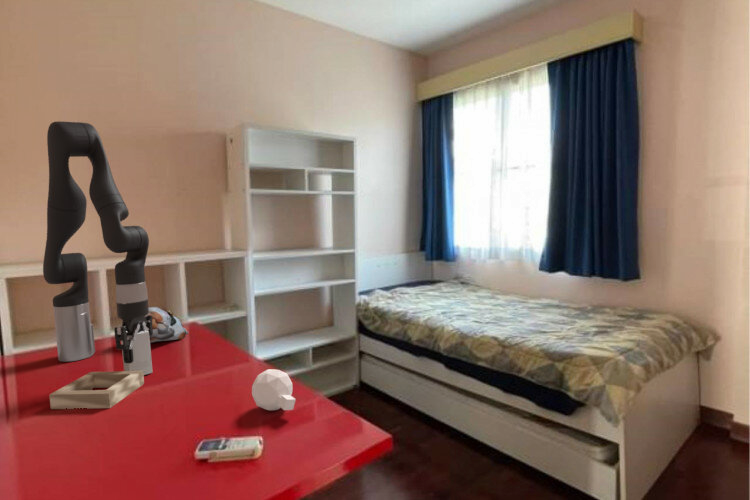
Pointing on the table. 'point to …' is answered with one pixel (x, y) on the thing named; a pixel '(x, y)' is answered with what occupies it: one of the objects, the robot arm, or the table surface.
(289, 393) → the perfume bottle
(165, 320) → the lucky cat figurine
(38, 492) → the table surface
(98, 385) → the square wooden frame
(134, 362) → the skincare box
